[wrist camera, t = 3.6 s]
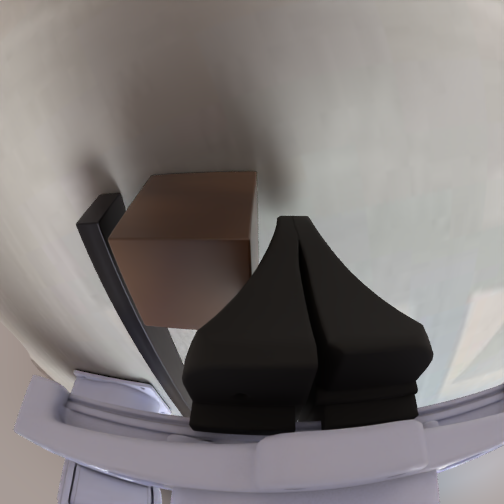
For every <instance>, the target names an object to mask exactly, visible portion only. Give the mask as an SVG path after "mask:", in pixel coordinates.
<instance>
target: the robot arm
mask: <svg viewBox="0 0 504 504" xmlns="http://www.w3.org/2000/svg"><path fill="white" fill-rule="evenodd" d="M432 359H433V351H432V348H431V345H430V341H429V339H428V336H427V334H426V331H425V329H424V327H423V325H422V324H420V323H419V322H417V321H415V320H413V319H412V318H410V317H408V316H407V315H405V314H403V313H402V312H400V311H398V310H397V309H396V308H394V307H393V306H391V305H390V304H388V303H387V302H385V301H384V300H383V299H381V298H380V297H379V296H377V295H376V294H375V293H374V292H373V291H371V290H370V289H369V288H368V287H367V286H365V285H364V284H363V283H362V282H361V281H360V280H359V279H358V278H357V277H356V276H354V275H353V274H352V273H351V272H350V271H349V270H348V268H347V267H346V266H345V265H344V264H343V263H342V262H341V261H340V259H339V258H338V257H337V256H336V255H335V254H334V252H333V251H332V250H331V248H330V247H329V246H328V245H327V243H326V242H325V241H324V239H323V238H322V236H321V235H320V234H319V232H318V231H317V229H316V228H315V226H314V225H313V223H312V221H311V220H310V218H309V217H308V216H279V217H278V218H277V225H276V229H275V232H274V235H273V237H272V240H271V242H270V244H269V247H268V249H267V251H266V253H265V254H264V256H263V258H262V260H261V262H260V263H259V265H258V267H257V268H256V270H255V271H254V273H253V274H252V276H251V277H250V278H249V280H248V281H247V282H246V284H245V285H244V286H243V287H242V289H241V290H240V291H239V292H238V293H237V295H236V296H235V297H234V298H233V299H232V300H231V301H230V302H229V303H228V304H227V305H226V306H225V307H224V308H223V309H222V310H221V311H220V312H219V313H218V314H217V315H216V316H214V317H213V318H212V319H211V320H210V321H208V322H207V323H206V324H205V325H203V326H202V327H201V328H200V329H198V330H197V332H196V334H195V336H194V338H193V340H192V343H191V345H190V347H189V350H188V353H187V356H186V359H185V363H184V369H183V374H182V382H183V385H184V387H185V389H186V390H187V392H188V394H189V396H190V398H191V399H192V407H191V414H190V417H183V416H175V415H168V414H171V410H170V409H169V407H168V406H167V405H166V404H165V402H164V401H163V400H162V398H161V397H160V396H159V394H158V393H157V392H156V390H155V389H154V388H153V386H152V385H150V384H146V383H139V382H133V381H127V380H121V379H116V378H111V377H106V376H101V375H96V374H91V373H87V372H82V371H78V370H74V372H73V374H74V375H75V376H76V380H75V383H74V385H73V388H72V391H71V393H69V392H68V390H67V389H66V388H65V387H64V386H62V385H61V384H59V383H58V382H56V381H53V380H50V379H47V378H44V377H41V376H38V375H33V376H32V378H31V381H30V383H29V386H28V388H27V391H26V394H25V397H24V399H23V402H22V405H21V408H20V411H19V414H18V417H17V421H16V423H15V427H14V431H15V433H17V434H19V435H20V436H22V437H24V438H26V439H27V440H29V441H31V442H33V443H35V444H36V445H39V446H40V447H42V448H44V449H46V450H48V451H50V452H52V453H54V454H57V455H59V456H61V457H63V458H65V462H64V466H63V470H62V475H61V480H60V486H59V491H58V496H57V500H58V504H162V496H161V492H160V489H159V488H162V489H168V490H172V497H171V504H440V500H439V488H438V479H437V473H439V472H442V471H445V470H447V469H450V468H453V467H455V466H458V465H461V464H463V463H466V462H468V461H471V460H473V459H475V458H478V457H480V456H482V455H484V454H487V453H489V452H491V451H493V450H495V449H497V448H499V447H501V446H503V445H504V384H502V385H499V386H496V387H493V388H490V389H487V390H484V391H481V392H478V393H475V394H471V395H468V396H465V397H461V398H457V399H454V400H450V401H446V402H442V403H438V404H434V405H429V406H425V407H420V408H417V404H416V399H415V394H416V393H417V392H418V388H417V384H416V380H417V379H418V378H419V377H420V375H421V374H422V373H423V372H424V371H425V370H426V368H427V367H428V366H429V364H430V363H431V361H432ZM161 413H162V414H161ZM297 421H298V422H297Z"/></svg>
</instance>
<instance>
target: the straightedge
mask: <svg viewBox="0 0 504 504" xmlns="http://www.w3.org/2000/svg"><path fill="white" fill-rule="evenodd" d="M125 212H126V211H125V208H124V204H123V201H122V197H121V194H120V193H114V194H103V195H99V196H98V197H97V198H96V200H95V201H94V202H93V203H92V204H91V206H90V207H89V208H88V209H87V211H86V212H85V213H84V214H83V216H82V217H81V218H80V219H79V221H78V222H77V223H76V226H77V229H78V231H79V233H80V236H81V238H82V241H83V243H84V245H85V248H86V250H87V252H88V254H89V257H90V259H91V261H92V263H93V265H94V268H95V270H96V272H97V274H98V276H99V278H100V280H101V282H102V284H103V286H104V288H105V290H106V292H107V294H108V296H109V298H110V300H111V302H112V304H113V306H114V308H115V310H116V311H117V313H118V315H119V317H120V319H121V321H122V322H123V324H124V326H125V328H126V330H127V331H128V333H129V335H130V336H131V338H132V340H133V342H134V343H135V345H136V347H137V348H138V350H139V352H140V353H141V355H142V356H143V358H144V360H145V361H146V363H147V364H148V366H149V368H150V369H151V371H152V372H153V374H154V375H155V377H156V378H157V380H158V381H159V383H160V384H161V386H162V387H163V389H164V390H165V392H166V393H167V394H168V396H169V397H170V399H171V400H172V401H173V403H174V404H175V406H176V407H177V408H178V410H179V411H180V412H181V414H182V415H183V417H190V414H191V407H192V399H191V398H190V396H189V394H188V392H187V390H186V389H185V387H184V385H183V382H182V374H183V369H184V365H183V363H182V361H181V359H180V357H179V354H178V352H177V350H176V348H175V345H174V343H173V341H172V338H171V336H170V334H169V331H168V329H167V327H155V326H146V325H145V324H144V322H143V320H142V318H141V316H140V314H139V312H138V310H137V308H136V306H135V303H134V301H133V299H132V297H131V295H130V293H129V290H128V288H127V286H126V283H125V281H124V279H123V276H122V274H121V272H120V269H119V267H118V265H117V262H116V260H115V257H114V255H113V252H112V250H111V247H110V244H109V242H108V238H109V236H110V234H111V233H112V231H113V230H114V228H115V227H116V225H117V224H118V222H119V221H120V219H121V218H122V216H123V215H124V213H125Z"/></svg>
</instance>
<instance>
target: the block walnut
mask: <svg viewBox="0 0 504 504" xmlns="http://www.w3.org/2000/svg"><path fill="white" fill-rule="evenodd" d="M108 242H109V244H110V247H111V250H112V252H113V255H114V257H115V260H116V262H117V265H118V267H119V269H120V272H121V274H122V276H123V279H124V281H125V283H126V286H127V288H128V290H129V293H130V295H131V297H132V299H133V301H134V303H135V306H136V308H137V310H138V312H139V314H140V316H141V318H142V320H143V322H144V324H145V325H146V326H155V327H167V328H180V329H194V330H198V329H200V328H201V327H202V326H203V325H205V324H206V323H207V322H208V321H210V320H211V319H212V318H213V317H214V316H216V315H217V314H218V313H219V312H220V311H221V310H222V309H223V308H224V307H225V306H226V305H227V304H228V303H229V302H230V301H231V300H232V299H233V298H234V297H235V296H236V295H237V293H238V292H239V291H240V290H241V289H242V287H243V286H244V285H245V284H246V282H247V281H248V280H249V278H250V277H251V276H252V274H253V273H254V271H255V270H256V268H257V267H258V262H259V241H258V200H257V173H256V172H255V171H238V172H202V173H180V174H164V175H152V176H151V177H150V178H149V180H148V181H147V182H146V184H145V185H144V186H143V188H142V189H141V191H140V192H139V193H138V195H137V196H136V198H135V199H134V200H133V202H132V203H131V205H130V206H129V207H128V209H127V210H126V212H125V213H124V215H123V216H122V218H121V219H120V221H119V222H118V224H117V225H116V227H115V228H114V230H113V231H112V233H111V234H110V236H109V238H108Z"/></svg>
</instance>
